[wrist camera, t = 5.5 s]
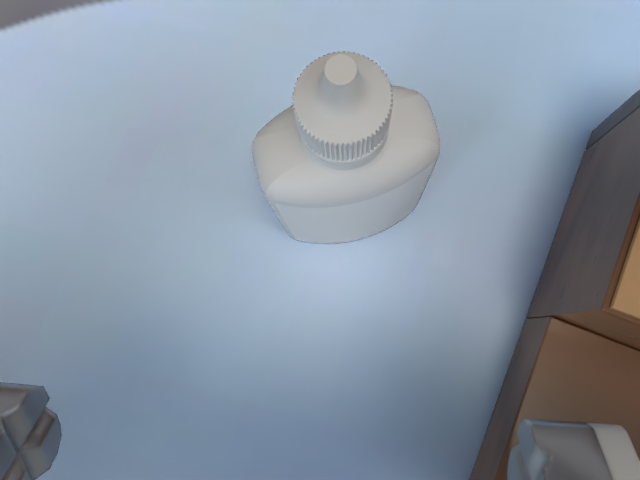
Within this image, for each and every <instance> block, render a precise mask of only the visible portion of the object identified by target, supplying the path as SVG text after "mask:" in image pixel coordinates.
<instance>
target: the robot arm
mask: <svg viewBox="0 0 640 480" xmlns="http://www.w3.org/2000/svg"><path fill="white" fill-rule="evenodd" d="M49 399H50V398H49V396H48V394H47V392H46V390H45V388H44V386H37V385H27V384H16V383H5V382H0V480H35V479H37V478H38V477H39V476H41V475H42V474H43V473H45V472H46V471H47V470H49V469H50V467H51V465H52V463H53V461H54V459H55V457H56V455H57V453H58V449H59V445H60V440H61V424H60V421H59V419H58V416H57V415H56V414H55V413H54V412H52V411H51V410H50V409H48V408H47V407H46V404H47V402H48V401H49ZM517 435H518V439H519V444H518V445H516V446H515V447H513V448H511V452H510V456H509V459H508V470H507V480H640V461H639V458H638V456H637V454H636V451H635V449H634V447H633V444H632V442H631V440H630V437H629V435H628V433H627V431H626V430H625V429H624V428H623V427H622V426H621V425H614V424H597V423H585V422H579V421H560V420H542V419H523V420H522V421H521V422H520V425H519V427H518V430H517Z"/></svg>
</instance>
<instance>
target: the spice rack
mask: <svg viewBox="0 0 640 480" xmlns="http://www.w3.org/2000/svg"><path fill="white" fill-rule="evenodd" d="M526 318H527V319H526V320H525V323H524V326H523V328H522V331H521V334H520V337H519V340H518V343H517V345H516V348H515V351H514V354H513V357H512V360H511V363H510V365H509V368H508V371H507V374H506V377H505V380H504V382H503V385H502V388H501V391H500V394H499V397H498V400H497V402H496V405H495V408H494V411H493V414H492V417H491V419H490V422H489V425H488V428H487V431H486V434H485V436H484V439H483V442H482V445H481V448H480V451H479V454H478V456H477V459H476V462H475V465H474V468H473V471H472V473H471V476H470V479H469V480H507V470H508V459H509V456H510V452H511V448H513V447H515V446H516V445H518V444H519V439H518V435H517V430H518V427H519V425H520V422H521V421H522V420H523V419H542V420H560V421H579V422H585V423H597V424H614V425H621V426H622V427H623V428H624V429H625V430H626V431H627V433H628V435H629V437H630V440H631V442H632V444H633V447H634V449H635V451H636V454H637V456H638V458H639V461H640V90H639V91H637V92H636V93H635V94H634V95H633V96H632V97H631V98H629V99H628V100H627V101H626V102H625V103H624V104H623V105H621V106H620V107H619V108H618V109H617V110H616V111H614V112H613V113H612V114H611V115H610V116H609V117H608V118H606V119H605V120H604V121H603V122H602V123H601V124H600V125H598V126H597V127H596V128H595V129H594V130H593V131H592V132H591V135H590V138H589V141H588V144H587V147H586V151H585V152H584V154H583V157H582V160H581V163H580V166H579V169H578V171H577V174H576V177H575V180H574V183H573V186H572V188H571V191H570V194H569V197H568V200H567V203H566V205H565V208H564V211H563V214H562V217H561V220H560V223H559V225H558V228H557V231H556V234H555V237H554V240H553V242H552V245H551V248H550V251H549V254H548V257H547V260H546V262H545V265H544V268H543V271H542V274H541V277H540V279H539V282H538V285H537V288H536V291H535V294H534V296H533V299H532V302H531V305H530V308H529V311H528V314H527V316H526Z"/></svg>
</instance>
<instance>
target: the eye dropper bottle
mask: <svg viewBox="0 0 640 480" xmlns="http://www.w3.org/2000/svg"><path fill="white" fill-rule="evenodd" d="M297 80H298V81H297V82H296V83H295V85H296V86H295V87H294V92H293V97H292V100H293V102H292V106H291V107H289V108H288V109H286V110H285V111H283V112H282V113H280V114H279V115H278V116H276V117H275V118H274V119H272V120H271V121H270V122H269V123H268V124H266V125H265V126H264V127H263V128H262V129H261V130H260V131H259V132H258V134H257V135H256V137H255V138H254V140H253V145H252V153H253V158H254V163H255V167H256V171H257V175H258V179H259V183H260V186H261V189H262V192H263V194H264V196H265V197H266V199H267V201H268V203H269V204H270V206H271V207H272V209H273V211H274V212H275V214H276V215H277V217H278V218H279V220H280V222H281V223H282V225H283V226H284V228H285V229H286V231H287V232H288V234H289V235H290V237H292V238H293V239H295V240H297V241H301V242H306V243H315V244H338V243H346V242H352V241H356V240H360V239H363V238H367V237H370V236H372V235H375V234H377V233H380V232H382V231H384V230H386V229H388V228H389V227H391V226H393V225H395V224H396V223H398V222H399V221H401V220H402V219H403V218H405V217H406V216H407V215H409V214H410V213H411V212H412V211H413V210H414V209H415V207H416V205H417V204H418V202H419V200H420V198H421V195H422V193H423V191H424V189H425V187H426V184H427V182H428V180H429V178H430V175H431V173H432V171H433V169H434V166H435V164H436V161H437V158H438V156H439V151H440V138H439V134H438V130H437V126H436V123H435V120H434V117H433V114H432V111H431V108H430V106H429V103H428V101H427V100H426V99H425V97H424V96H423V95H422V94H420V93H418V92H416V91H415V90H411V89H407V88H403V87H397V86H391V84H390V83H389V79H388V78H387V75H386V74H384V70H381V67H380V66H377V63H374V62H373V60H369V58H367V57H365V56H364V55H360V54H356V53H350V52H337V53H334V52H333V53H332V54H327V55H323V57H319V58H318V59H317V60H314V62H312V63H310V65H309V66H306V69H304V70H303V73H301V74H300V77H299V78H298V79H297Z"/></svg>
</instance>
